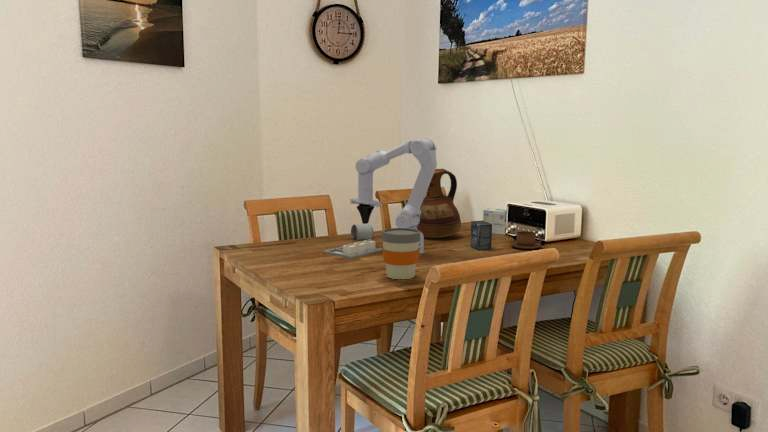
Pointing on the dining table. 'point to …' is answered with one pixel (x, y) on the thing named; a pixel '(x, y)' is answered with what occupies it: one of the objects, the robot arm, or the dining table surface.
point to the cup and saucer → (526, 240)
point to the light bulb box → (496, 220)
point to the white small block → (370, 244)
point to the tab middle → (360, 247)
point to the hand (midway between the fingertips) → (365, 223)
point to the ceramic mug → (361, 231)
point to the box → (481, 235)
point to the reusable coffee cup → (400, 252)
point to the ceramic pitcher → (439, 209)
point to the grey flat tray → (340, 253)
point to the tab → (349, 249)
